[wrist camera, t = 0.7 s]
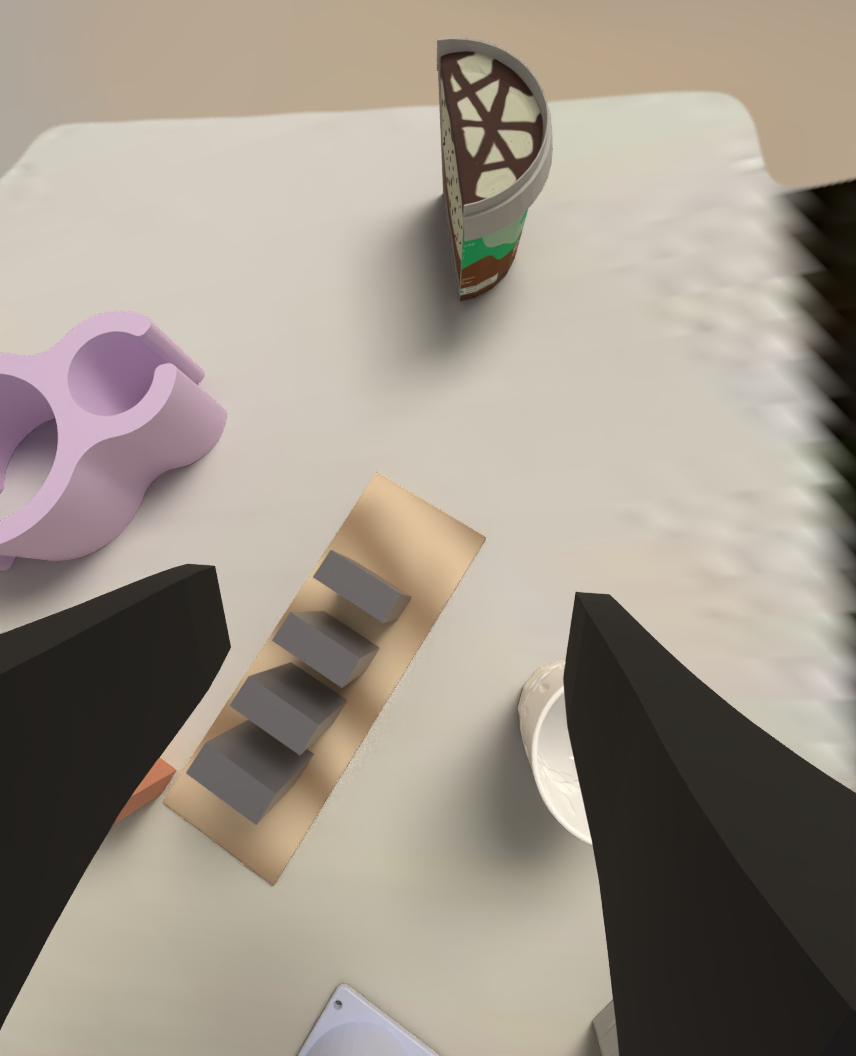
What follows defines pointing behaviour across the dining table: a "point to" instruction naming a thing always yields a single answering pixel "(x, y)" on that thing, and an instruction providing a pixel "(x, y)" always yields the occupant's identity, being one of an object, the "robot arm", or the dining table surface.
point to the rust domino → (149, 787)
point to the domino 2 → (326, 645)
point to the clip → (100, 430)
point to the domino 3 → (289, 705)
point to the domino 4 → (248, 769)
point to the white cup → (552, 748)
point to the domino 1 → (362, 587)
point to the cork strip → (430, 578)
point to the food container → (489, 155)
